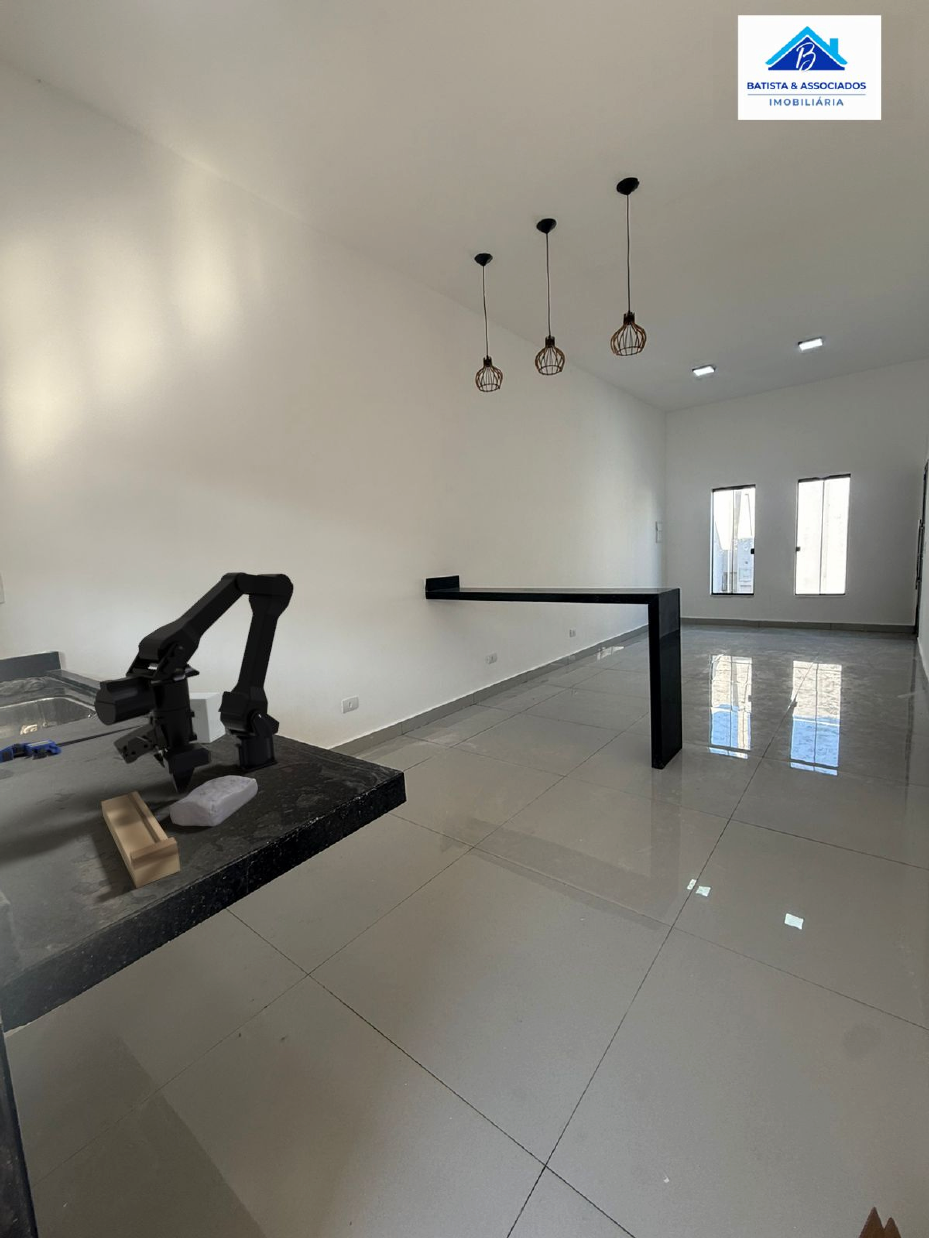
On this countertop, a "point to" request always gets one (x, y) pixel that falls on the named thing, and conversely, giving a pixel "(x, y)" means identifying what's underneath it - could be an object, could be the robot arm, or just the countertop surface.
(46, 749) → the bar clamp
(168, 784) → the countertop surface
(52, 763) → the countertop surface
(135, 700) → the robot arm
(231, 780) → the stone block
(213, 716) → the skincare box
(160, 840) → the wooden grooved rail
